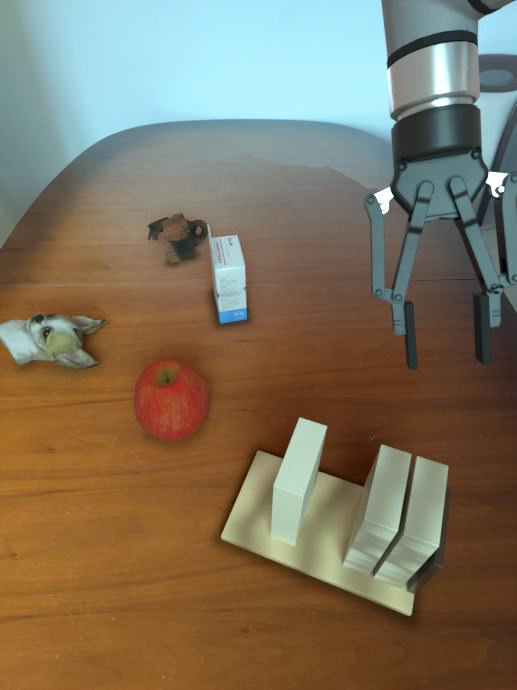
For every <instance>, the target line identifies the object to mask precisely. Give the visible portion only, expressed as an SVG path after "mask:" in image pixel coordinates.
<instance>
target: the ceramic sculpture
mask: <svg viewBox="0 0 517 690" xmlns="http://www.w3.org/2000/svg"><path fill="white" fill-rule="evenodd" d="M107 322H108V319H107V318H100V319H95V318H92V317H87V316H83V315H67V314H65V313H61V314H57V313H50V314H42V313H35V314H34V315H32V316H31V317H29V318H28V319H10V320H7V321H4V322H2V323H0V342H1V344H2V345H3V346H4V348H5V349H7V350H8V352H9V353H10V355H11V356H12V358H13V360H14V362H15V363H16V364H18V365H21V366H22V365H23V366H25V365H27V364H29V363H30V362H31V361H48V362H53V363H55V364H56V365H59V366H62V367H64V368H67V369H71V370H73V371H80V370H86V369H90V368H94V367H96V366H99V365H101V362H100V361H98V360H96V359H95V358H94V357H93V356H92V355H91V354H90V353H88V351H86V350H84V349H83V348H82V346H83V343H84V339H83V338H84V337H83V336H87V335H88V336H89V335H91V334H93V333H95V332H97V331H98V330H99V329H100V328H102V327H103V326H104V325H105V324H106V323H107Z"/></svg>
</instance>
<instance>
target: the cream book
mask: <svg viewBox="0 0 517 690" xmlns="http://www.w3.org/2000/svg"><path fill="white" fill-rule="evenodd" d="M328 428H329V426H328V425H326V424H323V423H319V422H316V421H313V420H310V419H307V418H304V417H301V416H299V417H298V419H297V422H296V425H295V427H294V430H293V433H292V436H291V438H290V441H289V443H288V446H287V449H286V451H285V454H284V456H283V458H282V459H283V461H282V464H281V467H280V469H279V472H278V474H277V477H276V480H275V482H274V485H273V501H272V519H271V537H272V538H275V539H277V540H280V541H282V542H285V543H287V544H290V545H292V546H295V545H296V541H297V538H298V535H299V532H300V529H301V526H302V523H303V520H304V517H305V513H306V510H307V507H308V504H309V501H310V498H311V495H312V492H313V489H314V487H315V483H316V479H317V474H318V471H319V469H320V464H321V459H322V455H323V450H324V447H325V446H324V445H325V441H326V438H327V437H326V436H327V432H328Z"/></svg>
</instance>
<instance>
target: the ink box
mask: <svg viewBox="0 0 517 690" xmlns="http://www.w3.org/2000/svg"><path fill="white" fill-rule="evenodd" d="M206 225H207V227H208V235H207V238H208V246H209V247H208V248H209V256H210V257H209V258H210V265H211V275H212V285H213V294H214V299H215V305H216V311H217V315H218V321H219V324H228V323H234V322H239V321H247V320H248V307H247V277H246V276H247V275H246V263H245V258H244V255H243V251H242V246H241V244H240V239H239V238H238V235H237V234H234V235H225V236H223V235H222V236H216V237H212V233H211V228H210V223H206Z"/></svg>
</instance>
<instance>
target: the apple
mask: <svg viewBox="0 0 517 690" xmlns="http://www.w3.org/2000/svg"><path fill="white" fill-rule="evenodd" d="M134 387H135V388H134V391H133V407H134V413H135V418H136V420H137V422H138V423H139V425H140V426H141V428H142V429H143V430H144V431H145V432H147V433H148V434H149V435H151V436H152V437H154V438H156V439H159V440H161V441H166V442H167V441H168V442H175V441H180V440H185V439H187V438H189V437H190V436H192V434H194V433H196V432H197V431H198V430H199V429H200V428H201V426H202V425H203V423H204V422H205V419H206V417H207V415H208V412H209V408H210V404H211V397H210V396H211V395H210V394H211V393H210V385H208V383H207V380H206V379H205V378H204V376H203V375H202V374H200V372H198V371H197V370H196V369H195V368H193V367H192V366H190V365H188V364H187V363H185V362H183V361H181V360H178V359H172V358H170V359H169V358H168V359H167V358H166V359H162V360H156V361H154V362H152V363H150V364H149V365H147V367H146V368H145V369H144V370H143V371H142V373H141V374H140V375H139V377H138V379H137V380H136V383H135V386H134Z"/></svg>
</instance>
